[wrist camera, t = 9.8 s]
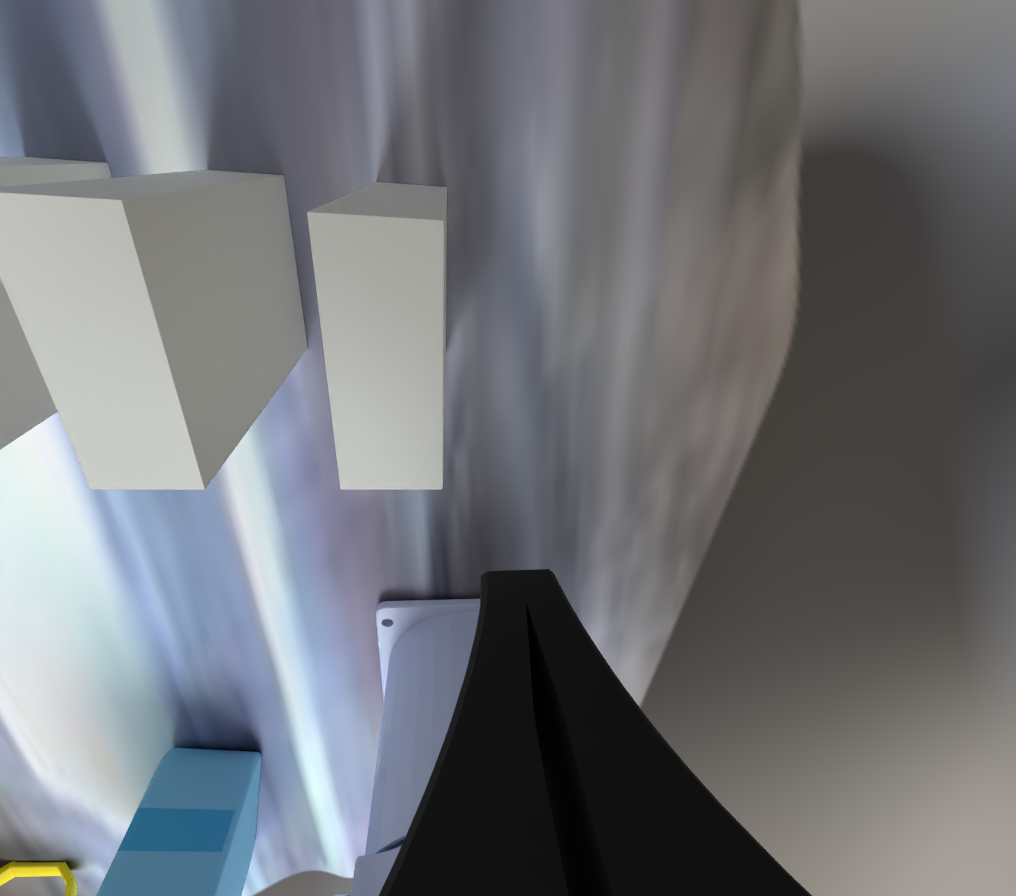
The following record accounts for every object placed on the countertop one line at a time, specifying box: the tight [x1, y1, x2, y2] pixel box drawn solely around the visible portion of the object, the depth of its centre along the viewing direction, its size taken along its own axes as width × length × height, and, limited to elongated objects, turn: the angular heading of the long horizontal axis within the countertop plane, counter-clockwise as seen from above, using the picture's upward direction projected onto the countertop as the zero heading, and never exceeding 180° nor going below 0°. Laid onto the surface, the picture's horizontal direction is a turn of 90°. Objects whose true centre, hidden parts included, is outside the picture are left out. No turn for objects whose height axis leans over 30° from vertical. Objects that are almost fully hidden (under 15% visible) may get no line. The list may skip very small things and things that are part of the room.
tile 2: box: [0, 170, 308, 490], centre depth 12 cm, size 5×2×8 cm, turn 176°
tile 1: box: [307, 182, 447, 490], centre depth 12 cm, size 5×2×8 cm, turn 176°
